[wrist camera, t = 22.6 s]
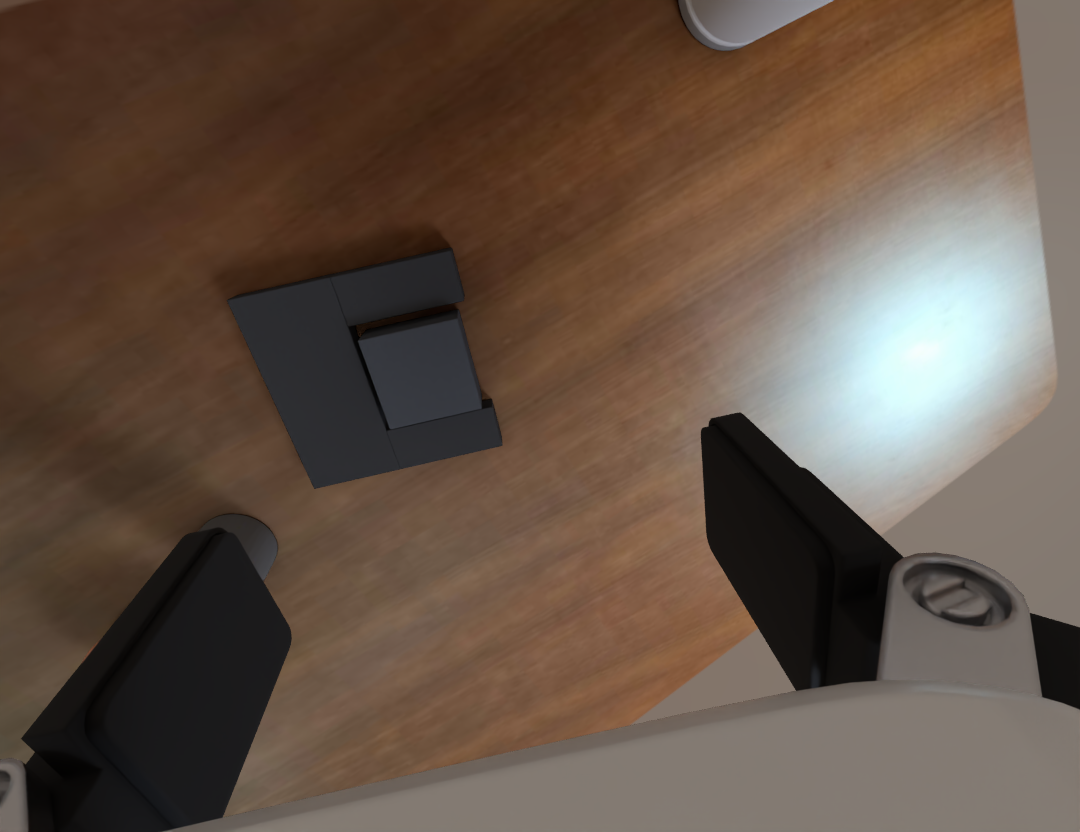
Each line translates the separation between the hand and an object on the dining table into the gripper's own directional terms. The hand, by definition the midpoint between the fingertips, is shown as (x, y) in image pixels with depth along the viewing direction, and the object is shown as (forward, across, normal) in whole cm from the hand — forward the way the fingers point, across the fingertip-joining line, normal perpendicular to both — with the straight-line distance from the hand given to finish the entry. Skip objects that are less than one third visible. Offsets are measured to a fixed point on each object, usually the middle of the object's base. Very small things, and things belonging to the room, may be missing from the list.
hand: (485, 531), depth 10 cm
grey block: (+26, +5, +5) cm, 27 cm away
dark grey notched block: (+26, +8, +5) cm, 28 cm away
